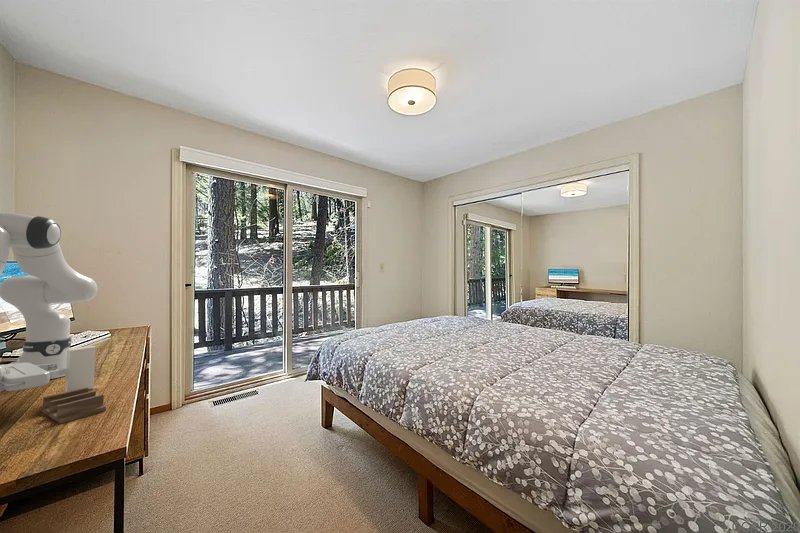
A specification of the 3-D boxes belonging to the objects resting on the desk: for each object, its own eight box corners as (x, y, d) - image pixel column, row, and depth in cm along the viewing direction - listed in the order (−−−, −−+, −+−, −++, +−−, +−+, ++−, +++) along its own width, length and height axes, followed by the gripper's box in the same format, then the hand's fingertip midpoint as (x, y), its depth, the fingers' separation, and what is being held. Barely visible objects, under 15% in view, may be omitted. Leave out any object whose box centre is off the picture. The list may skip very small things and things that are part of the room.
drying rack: (40, 410, 86) (41, 396, 86) (83, 399, 94) (84, 386, 94) (60, 423, 79) (61, 407, 79) (105, 410, 87) (106, 396, 87)
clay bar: (64, 392, 97) (67, 349, 97) (90, 386, 102) (92, 345, 102) (67, 394, 95) (70, 350, 95) (93, 388, 101) (96, 346, 101)
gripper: (-1, 376, 78) (74, 363, 90) (-20, 364, 87) (51, 354, 99) (-3, 400, 77) (73, 384, 90) (-21, 386, 87) (50, 373, 99)
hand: (61, 368), depth 95 cm, fingers open, 8 cm apart
